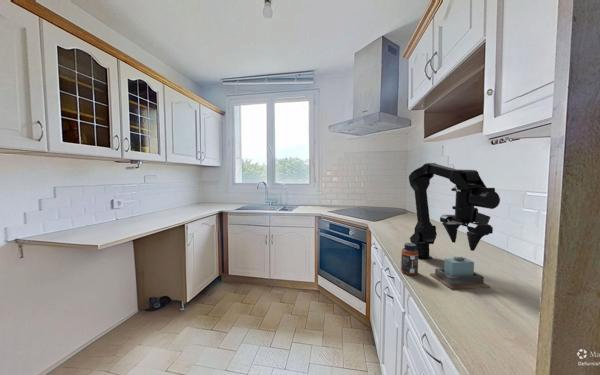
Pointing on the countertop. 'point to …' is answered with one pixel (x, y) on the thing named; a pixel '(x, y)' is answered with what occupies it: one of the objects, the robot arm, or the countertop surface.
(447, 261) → the cabinet block
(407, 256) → the supplement bottle
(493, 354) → the countertop surface
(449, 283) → the socket board
